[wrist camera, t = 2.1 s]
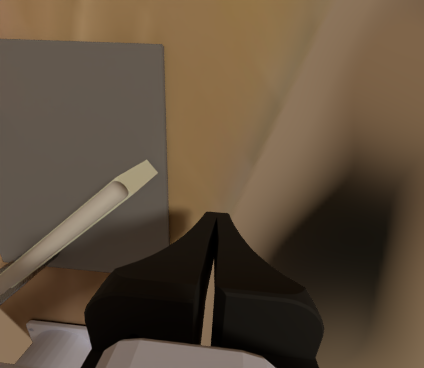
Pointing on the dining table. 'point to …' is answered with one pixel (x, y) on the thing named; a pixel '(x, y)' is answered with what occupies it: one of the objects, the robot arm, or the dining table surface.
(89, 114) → the mat
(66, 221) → the bar
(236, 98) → the dining table surface
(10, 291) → the gate post
